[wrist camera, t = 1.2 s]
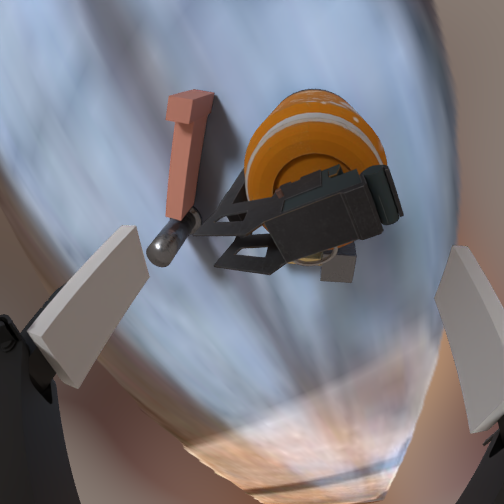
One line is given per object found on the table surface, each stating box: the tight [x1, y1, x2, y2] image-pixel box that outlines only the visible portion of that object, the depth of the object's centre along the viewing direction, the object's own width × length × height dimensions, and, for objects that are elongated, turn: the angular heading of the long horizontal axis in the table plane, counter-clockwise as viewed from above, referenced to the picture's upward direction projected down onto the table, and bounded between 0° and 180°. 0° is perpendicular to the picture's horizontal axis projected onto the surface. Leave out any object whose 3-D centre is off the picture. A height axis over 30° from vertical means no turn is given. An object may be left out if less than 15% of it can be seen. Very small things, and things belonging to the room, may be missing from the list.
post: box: [146, 206, 202, 267], centre depth 34 cm, size 4×4×8 cm
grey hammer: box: [289, 241, 357, 283], centre depth 31 cm, size 4×8×8 cm, turn 92°
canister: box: [193, 89, 404, 275], centre depth 21 cm, size 9×11×20 cm
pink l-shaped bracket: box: [166, 89, 214, 221], centre depth 29 cm, size 2×13×6 cm, turn 168°
